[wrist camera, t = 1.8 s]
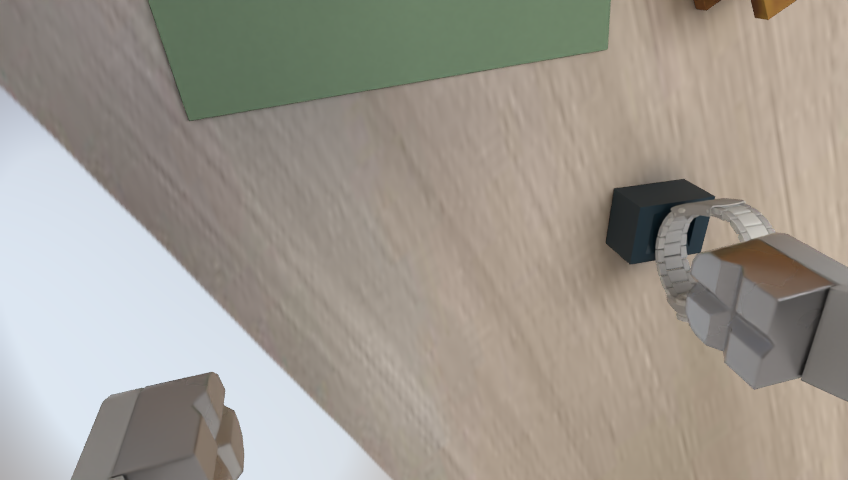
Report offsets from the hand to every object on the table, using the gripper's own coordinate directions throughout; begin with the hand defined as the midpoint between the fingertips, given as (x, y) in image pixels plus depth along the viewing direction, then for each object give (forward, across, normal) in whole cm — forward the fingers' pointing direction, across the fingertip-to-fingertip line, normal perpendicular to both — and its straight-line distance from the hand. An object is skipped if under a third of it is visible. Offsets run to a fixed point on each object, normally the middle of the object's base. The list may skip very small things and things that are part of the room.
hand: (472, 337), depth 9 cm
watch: (+24, -20, +13) cm, 33 cm away
